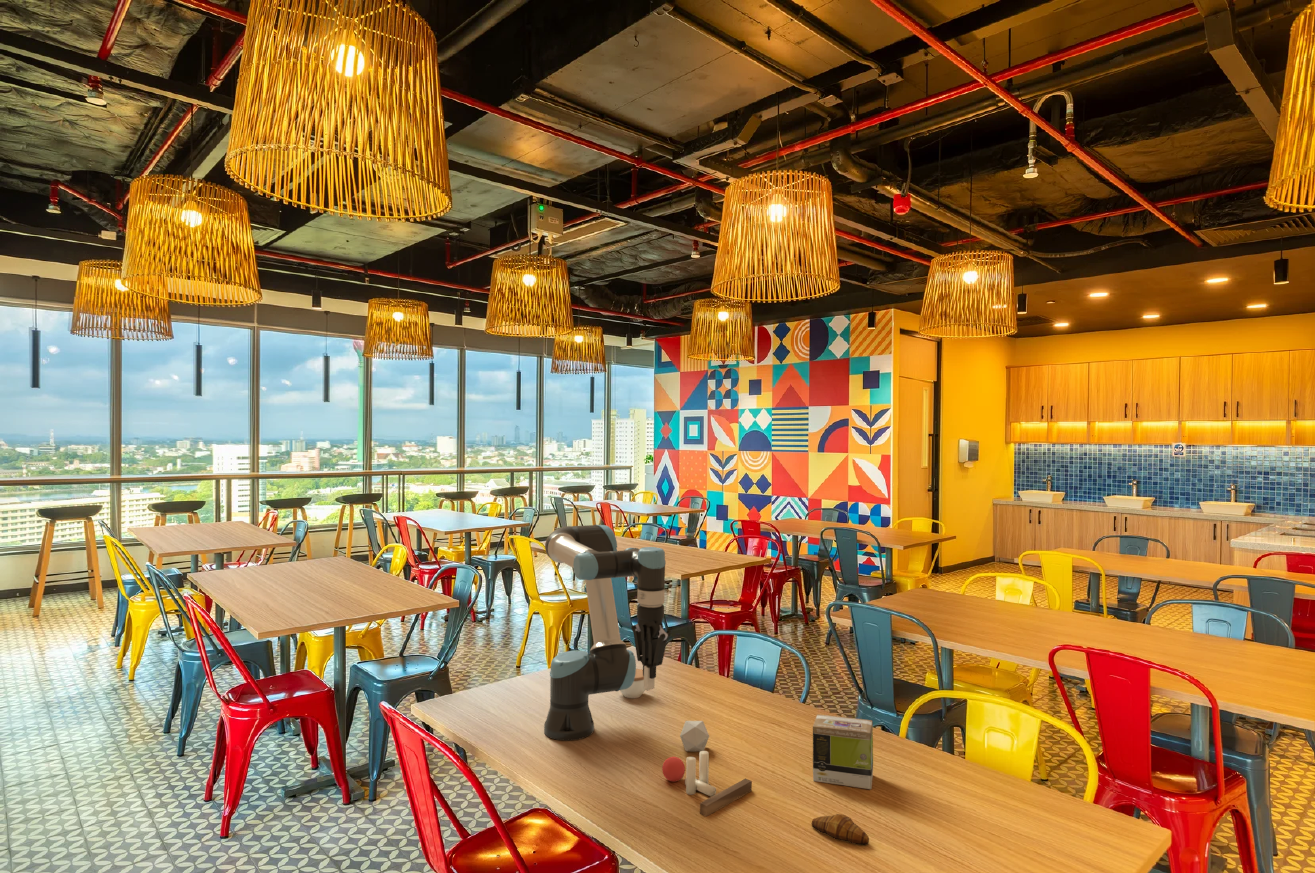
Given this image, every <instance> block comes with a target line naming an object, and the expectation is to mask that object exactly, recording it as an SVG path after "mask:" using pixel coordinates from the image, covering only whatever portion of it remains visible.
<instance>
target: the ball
mask: <svg viewBox="0 0 1315 873" xmlns="http://www.w3.org/2000/svg"><path fill="white" fill-rule="evenodd" d="M684 763H685V762H683V759H682V758H680V757H677V756H670V757H668V758H666V759H665V760H664V762H663V763H662V769H661V771H662V775H663V776H664V777H665V779H666V780H668V781H669V782H679V781H681V779H682V778H683V777H684V775H685V774H686V773H685V772H686V767H685V764H684Z"/></svg>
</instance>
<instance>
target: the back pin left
mask: <svg viewBox="0 0 1315 873" xmlns="http://www.w3.org/2000/svg"><path fill="white" fill-rule="evenodd" d="M698 752H699V754H698V755H699V756H698V757H699V761H698V762H699V765H698V766H699V768H698V770H699V771H698V780H700V781H702V782H704V783H707V784H709V766H710V765H709V763H710V762H709V761H710V760H709V759H710V758H709V754H710V753H709V751H707V750H704V751H698Z"/></svg>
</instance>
